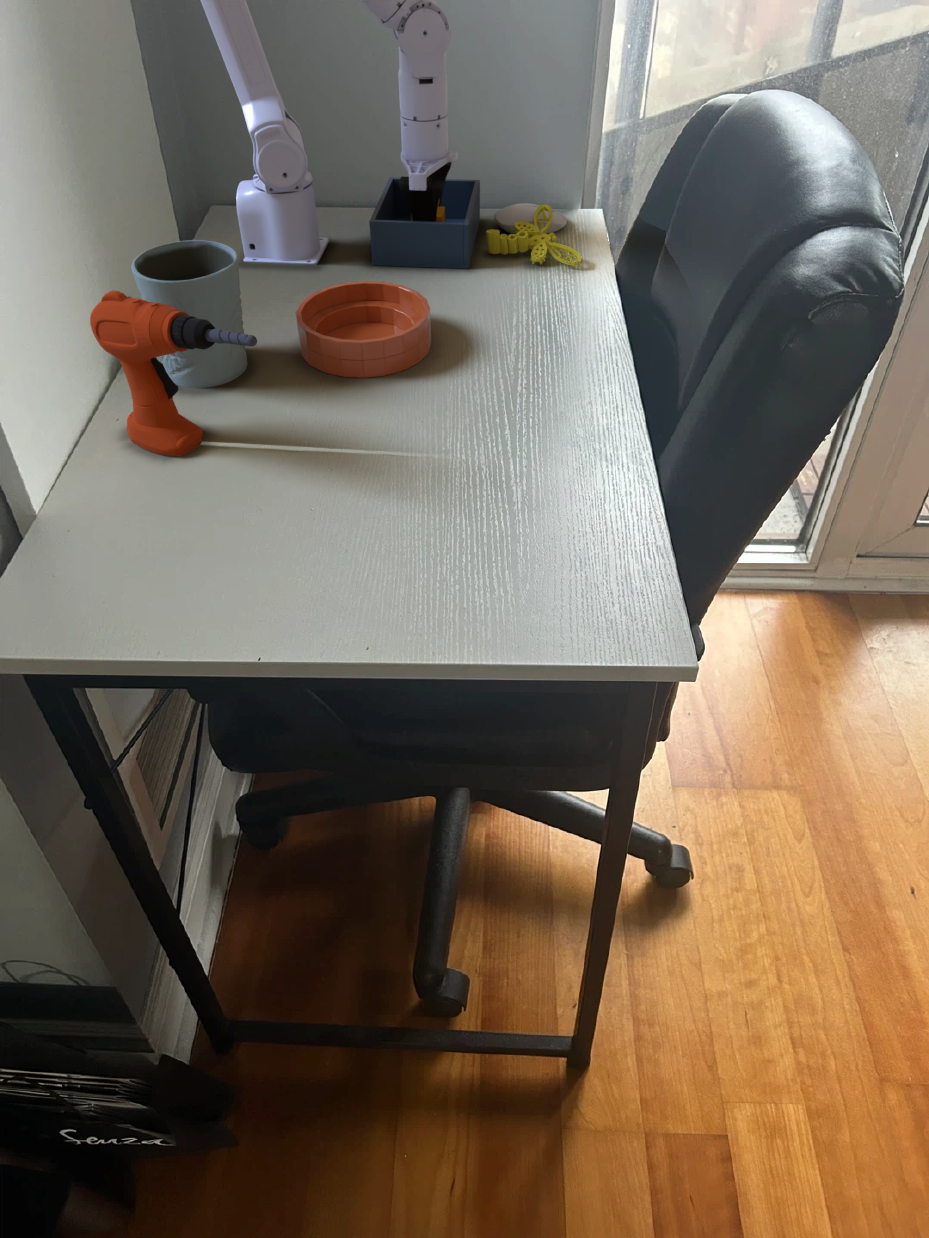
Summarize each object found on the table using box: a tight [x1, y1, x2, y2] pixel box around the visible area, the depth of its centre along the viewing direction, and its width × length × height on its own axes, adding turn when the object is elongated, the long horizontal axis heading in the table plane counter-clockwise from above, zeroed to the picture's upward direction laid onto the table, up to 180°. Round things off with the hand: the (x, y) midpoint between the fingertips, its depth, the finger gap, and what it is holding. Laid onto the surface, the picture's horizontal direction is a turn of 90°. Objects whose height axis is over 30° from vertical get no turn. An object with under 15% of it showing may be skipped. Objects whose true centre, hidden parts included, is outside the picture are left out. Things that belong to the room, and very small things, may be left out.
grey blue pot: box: [130, 239, 248, 389], centre depth 96 cm, size 10×10×12 cm
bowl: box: [294, 280, 432, 379], centre depth 102 cm, size 14×14×4 cm
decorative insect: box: [485, 203, 583, 267], centre depth 119 cm, size 13×3×10 cm
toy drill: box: [89, 289, 258, 457], centre depth 84 cm, size 5×19×15 cm, turn 62°
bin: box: [368, 176, 481, 270], centre depth 122 cm, size 12×15×6 cm
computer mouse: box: [493, 202, 568, 234], centre depth 126 cm, size 6×10×3 cm, turn 104°
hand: (427, 228), depth 123 cm, fingers open, 4 cm apart
